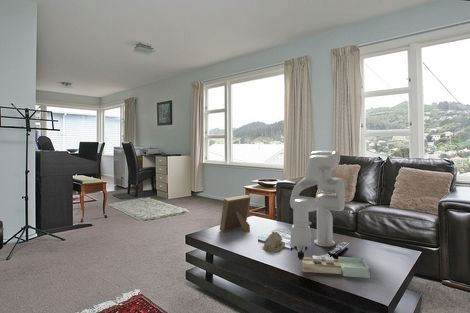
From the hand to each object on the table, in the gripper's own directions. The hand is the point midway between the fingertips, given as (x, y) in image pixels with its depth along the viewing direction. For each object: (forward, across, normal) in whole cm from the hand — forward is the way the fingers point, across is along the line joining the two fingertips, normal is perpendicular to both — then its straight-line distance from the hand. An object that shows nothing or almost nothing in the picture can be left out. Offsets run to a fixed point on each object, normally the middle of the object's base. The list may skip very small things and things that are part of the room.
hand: (300, 259), depth 142 cm
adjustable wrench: (+5, -18, -20) cm, 27 cm away
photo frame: (+5, +42, -56) cm, 71 cm away
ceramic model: (+5, +15, -26) cm, 30 cm away
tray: (+5, -26, 0) cm, 26 cm away
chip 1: (+2, -8, 0) cm, 8 cm away
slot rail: (+5, -10, 0) cm, 11 cm away
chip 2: (+2, -14, 0) cm, 14 cm away
